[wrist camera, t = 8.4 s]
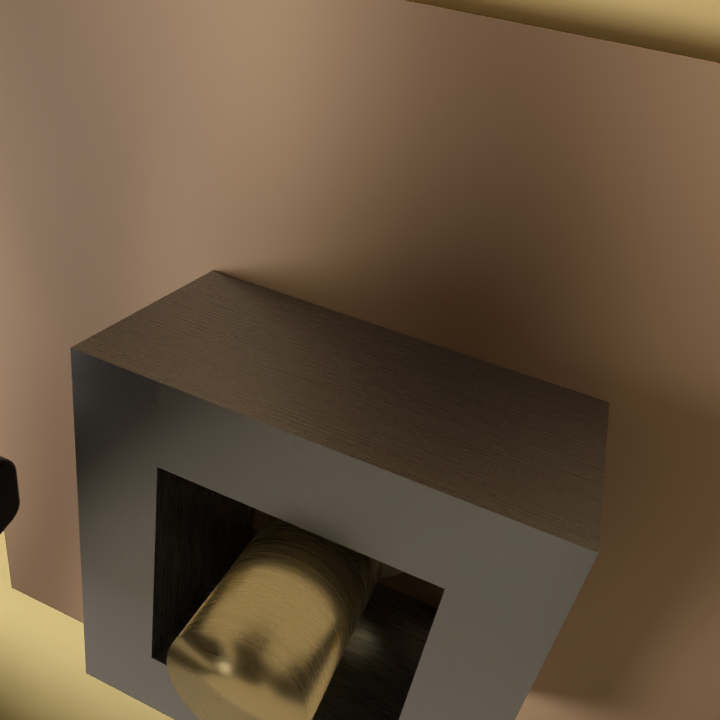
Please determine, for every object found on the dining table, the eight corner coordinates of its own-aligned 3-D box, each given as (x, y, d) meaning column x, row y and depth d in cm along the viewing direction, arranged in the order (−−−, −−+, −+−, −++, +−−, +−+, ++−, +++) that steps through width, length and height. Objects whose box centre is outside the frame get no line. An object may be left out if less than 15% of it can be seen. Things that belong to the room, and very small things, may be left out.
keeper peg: (275, 519, 12) (130, 711, 8) (293, 389, 10) (130, 557, 7) (422, 581, 11) (329, 816, 8) (462, 450, 10) (371, 668, 6)
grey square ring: (193, 549, 13) (86, 672, 10) (213, 270, 10) (70, 347, 7) (485, 681, 12) (443, 860, 9) (608, 402, 9) (599, 553, 6)
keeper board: (48, 555, 17) (11, 587, 16) (-10, -83, 10) (-81, -97, 9) (684, 857, 13) (688, 924, 12) (1271, 172, 6) (1390, 196, 5)
